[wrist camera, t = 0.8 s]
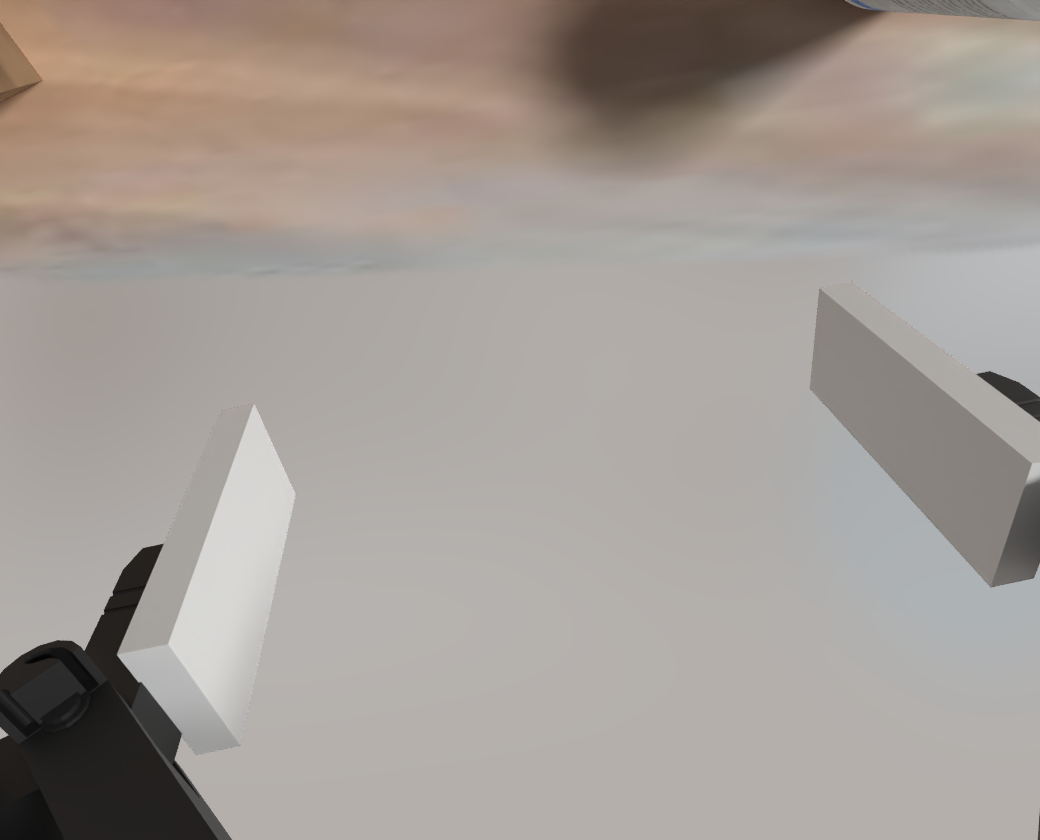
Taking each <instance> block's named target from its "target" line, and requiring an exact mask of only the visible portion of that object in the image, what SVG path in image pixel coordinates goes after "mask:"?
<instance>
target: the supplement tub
mask: <svg viewBox="0 0 1040 840" xmlns="http://www.w3.org/2000/svg"><path fill="white" fill-rule="evenodd" d="M845 1H846V2H848V3H850V4H852V5H854V6H857V7H860V8H863V9H870V10H878V11H891V12H908V13H925V14H940V15H955V16H971V17H987V18H1001V19H1018V20H1035V21H1040V0H845Z"/></svg>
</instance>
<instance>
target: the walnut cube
mask: <svg viewBox="0 0 1040 840" xmlns="http://www.w3.org/2000/svg"><path fill="white" fill-rule="evenodd" d="M40 81H42V78H41V77H40V76H39V74H38V73H37V72H36V70H35V69H34V68H33V66H32V65H31V63H30V62H29V61H28V59H27V58H26V57H25V55H24V54H23V53H22V51H21V50H20V49H19V47H18V46H17V45H16V43H15V42H14V40H13V39H12V38H11V36H10V35H9V34H8V32H7V31H6V30H5V28H4V27H3V26H2V24H1V23H0V102H2V101H4V100H6V99H8V98H10V97H11V96H13V95H15V94H17V93H19V92H21V91H23V90H25V89H27V88H29V87H31V86H33V85H35V84H36V83H38V82H40Z"/></svg>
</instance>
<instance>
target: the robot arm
mask: <svg viewBox="0 0 1040 840" xmlns="http://www.w3.org/2000/svg"><path fill="white" fill-rule="evenodd" d="M810 389H811V390H812V391H813V393H814V394H815V395H816V396H817V397H818V398H819V399H820V400H821V401H822V402H823V404H824V405H825V406H826V407H827V408H828V409H829V410H830V411H831V412H832V413H833V415H834V416H835V417H836V418H837V419H838V420H839V421H840V422H841V423H842V425H843V426H844V427H845V428H846V429H847V430H848V431H849V432H850V433H851V434H852V436H853V437H854V438H855V439H856V440H857V441H858V442H859V443H860V444H861V445H862V446H863V448H864V449H865V450H866V451H867V452H868V453H869V454H870V455H871V456H872V457H873V459H874V460H875V461H876V462H877V463H878V464H879V465H880V466H881V467H882V468H883V469H884V471H885V472H886V473H887V474H888V475H889V476H890V477H891V478H892V479H893V481H894V482H895V483H896V484H897V485H898V486H899V487H900V488H901V489H902V490H903V492H904V493H906V495H907V496H908V497H909V498H910V499H911V500H912V501H913V502H914V504H915V505H916V506H917V507H918V508H919V509H920V510H921V511H922V512H923V513H924V515H925V516H926V517H927V518H928V519H929V520H930V521H931V522H932V523H933V524H934V526H935V527H936V528H937V529H938V530H939V531H940V532H941V533H942V534H943V535H944V536H945V538H946V539H947V540H948V541H949V542H950V543H951V544H952V545H953V546H954V548H955V549H956V550H957V551H958V552H959V553H960V554H961V555H962V556H963V557H964V559H965V560H966V561H967V562H968V563H969V564H970V565H971V566H972V567H973V568H974V570H975V571H976V572H977V573H978V574H979V575H980V576H981V577H982V578H983V579H984V581H985V582H986V583H987V584H988V585H989V586H990V587H995V586H999V585H1004V584H1009V583H1014V582H1018V581H1023V580H1028V579H1032V578H1034V576H1035V574H1036V571H1037V568H1038V566H1039V563H1040V397H1038V396H1037V395H1036V394H1035V393H1033V392H1032V391H1030V390H1029V389H1027V388H1026V387H1025V386H1023V385H1021V384H1020V383H1019V382H1016V381H1013V380H1011V379H1008V378H1006V377H1003V376H1001V375H998V374H996V373H993V372H990V371H989V372H985V373H979V374H975V373H974V372H972V371H971V370H970V369H968V368H967V367H966V366H964V365H963V364H962V363H960V362H959V361H958V360H956V359H955V358H953V357H952V356H951V355H950V354H948V353H947V352H946V351H944V350H943V349H942V348H940V347H939V346H938V345H936V344H935V343H934V342H932V341H931V340H930V339H928V338H927V337H925V336H924V335H923V334H921V333H920V332H919V331H917V330H916V329H915V328H913V327H912V326H911V325H909V324H908V323H907V322H905V321H904V320H903V319H901V318H900V317H899V316H897V315H896V314H895V313H893V312H892V311H891V310H889V309H888V308H887V307H885V306H884V305H883V304H881V303H880V302H879V301H877V300H876V299H875V298H873V297H872V296H871V295H869V294H868V293H867V292H865V291H864V290H863V289H861V288H860V287H859V286H857V285H856V284H854V283H853V282H847V283H842V284H837V285H832V286H828V287H822V288H820V289H819V298H818V308H817V319H816V329H815V340H814V352H813V361H812V372H811V383H810ZM294 500H295V492H294V490H293V488H292V486H291V484H290V481H289V479H288V477H287V475H286V473H285V470H284V469H283V466H282V464H281V462H280V459H279V457H278V455H277V453H276V451H275V449H274V446H273V445H272V442H271V440H270V438H269V435H268V433H267V431H266V429H265V427H264V425H263V422H262V420H261V418H260V416H259V414H258V411H257V409H256V407H255V405H254V404H250V405H245V406H240V407H236V408H231V409H226V410H221V411H220V413H219V415H218V418H217V420H216V423H215V425H214V427H213V430H212V432H211V435H210V437H209V439H208V441H207V444H206V446H205V448H204V451H203V453H202V455H201V458H200V460H199V463H198V465H197V467H196V470H195V472H194V474H193V477H192V479H191V481H190V484H189V486H188V488H187V491H186V493H185V496H184V498H183V500H182V503H181V505H180V507H179V510H178V512H177V514H176V517H175V519H174V521H173V524H172V526H171V528H170V531H169V533H168V535H167V538H166V540H165V542H164V544H161V545H156V546H151V547H146V548H143V549H142V550H141V551H140V552H139V553H138V554H137V555H136V556H135V557H134V558H133V560H132V561H131V562H130V563H129V564H128V565H127V566H126V567H125V568H124V569H123V571H122V573H121V575H120V577H119V580H118V582H117V584H116V586H115V588H114V590H113V596H111V597H110V599H109V601H108V603H107V605H106V607H105V609H104V615H101V617H100V620H99V622H98V624H97V626H96V628H95V630H94V632H93V634H92V636H91V639H90V641H89V643H88V645H87V647H86V649H85V651H84V650H83V649H82V648H81V647H80V646H79V645H77V644H76V643H74V642H73V641H60V640H57V641H54V642H51V643H47V644H44V645H40V646H38V647H36V648H34V649H32V650H31V651H29V652H27V653H25V654H23V655H21V656H20V657H19V658H18V659H16V660H15V661H14V662H13V663H11V664H10V665H9V666H8V667H6V668H5V669H4V670H3V671H2V672H1V674H0V727H1V728H2V729H3V730H4V731H5V732H6V733H7V734H8V735H9V736H6V737H4V738H2V739H0V840H232V839H231V838H230V836H229V835H228V833H227V832H226V831H225V829H224V828H223V826H222V825H221V823H220V822H219V821H218V819H217V818H216V816H215V815H214V814H213V812H212V811H211V809H210V808H209V807H208V805H207V804H206V802H205V801H204V800H203V798H202V797H201V795H200V794H199V792H198V791H197V790H196V788H195V787H194V785H193V784H192V782H191V781H190V780H189V779H188V777H187V775H186V774H185V773H184V771H183V770H182V769H181V767H180V766H179V765H178V764H177V762H176V761H175V760H174V759H175V756H176V752H177V749H178V745H179V742H180V739H181V737H182V738H183V739H184V741H185V742H186V743H187V744H188V746H189V747H190V748H191V749H192V751H193V752H194V753H195V754H196V755H199V754H204V753H208V752H213V751H217V750H223V749H227V748H232V747H236V746H240V745H241V741H242V736H243V732H244V727H245V723H246V718H247V714H248V709H249V704H250V700H251V696H252V691H253V687H254V682H255V677H256V673H257V668H258V664H259V659H260V654H261V650H262V645H263V641H264V637H265V632H266V627H267V623H268V618H269V614H270V609H271V605H272V600H273V596H274V591H275V586H276V582H277V577H278V573H279V568H280V564H281V559H282V555H283V550H284V546H285V541H286V536H287V532H288V527H289V522H290V518H291V514H292V509H293V505H294ZM1038 840H1040V816H1039V831H1038Z"/></svg>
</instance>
